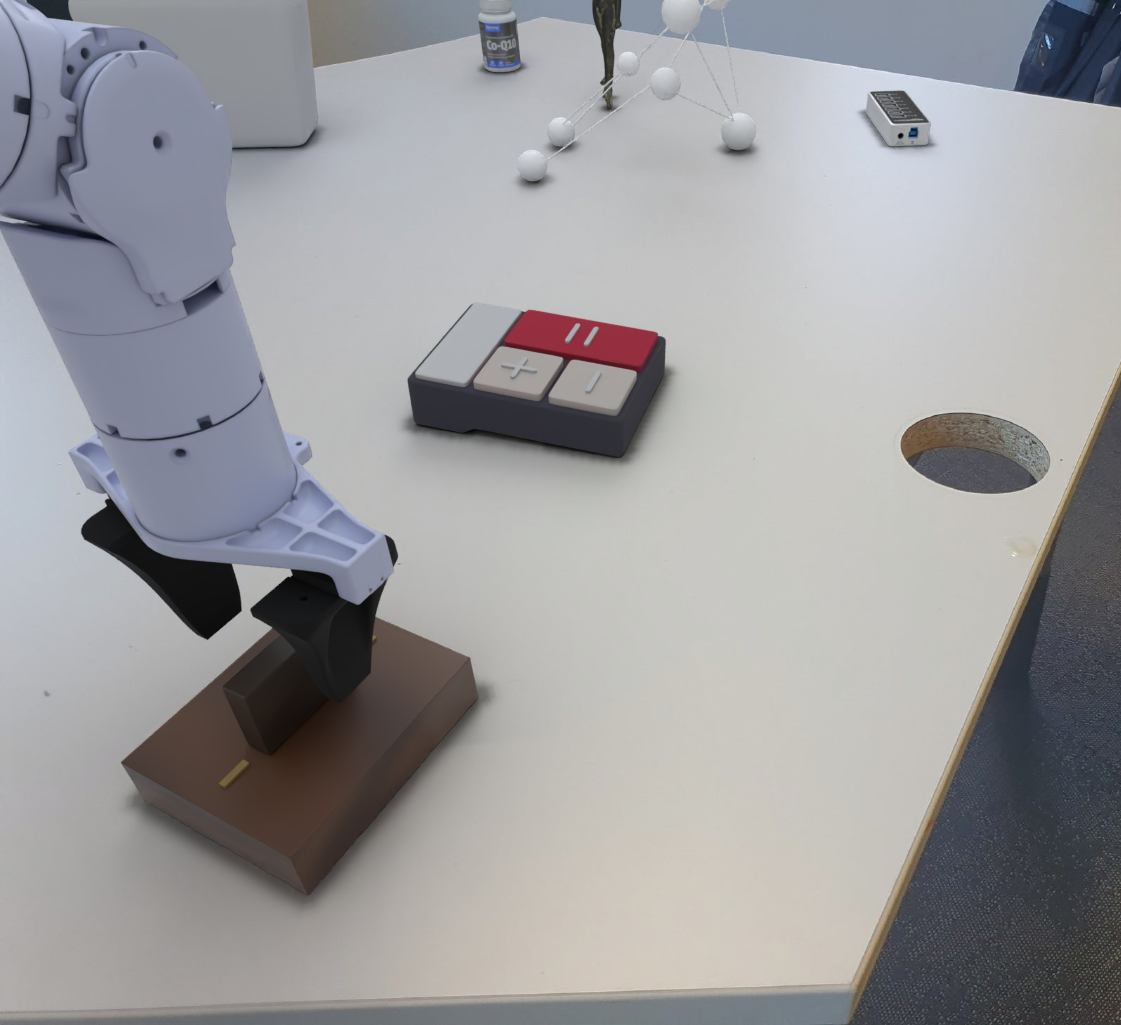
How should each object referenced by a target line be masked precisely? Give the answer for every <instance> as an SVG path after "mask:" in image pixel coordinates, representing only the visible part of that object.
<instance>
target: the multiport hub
mask: <svg viewBox="0 0 1121 1025" xmlns="http://www.w3.org/2000/svg"><path fill="white" fill-rule="evenodd" d="M865 114H866V115H867V117H868V118H869V120H870V121H871V122H872V124H873V125H874V127H875V128H876V130H877V131H878V133H879V134H880V136H881V137H882V138H883V140H884V142H885V143H886V145H887V146H889V147H908V146H909V147H911V146H927V145H928V143H929V139H930V132H931V126H932V122H931V121H930V120H929V118H928V117H927V115H925V113H924V112H923V110H921V108H920V107H919V106H918V105H917V104H916V102H915V100H913V99H912V97H911V96H910V95H909V94H908V92H907V91H905V90H901V89H900V90H875V91H874V90H873V91H868V92H867V100H866V107H865Z"/></svg>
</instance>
